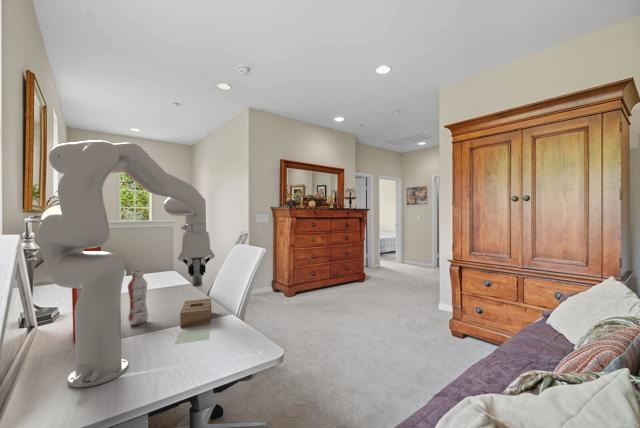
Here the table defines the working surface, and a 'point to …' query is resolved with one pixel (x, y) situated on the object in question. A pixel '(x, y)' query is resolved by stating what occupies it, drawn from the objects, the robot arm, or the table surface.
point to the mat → (192, 336)
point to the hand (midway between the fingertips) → (197, 274)
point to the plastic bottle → (137, 299)
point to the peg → (196, 272)
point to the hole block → (195, 313)
